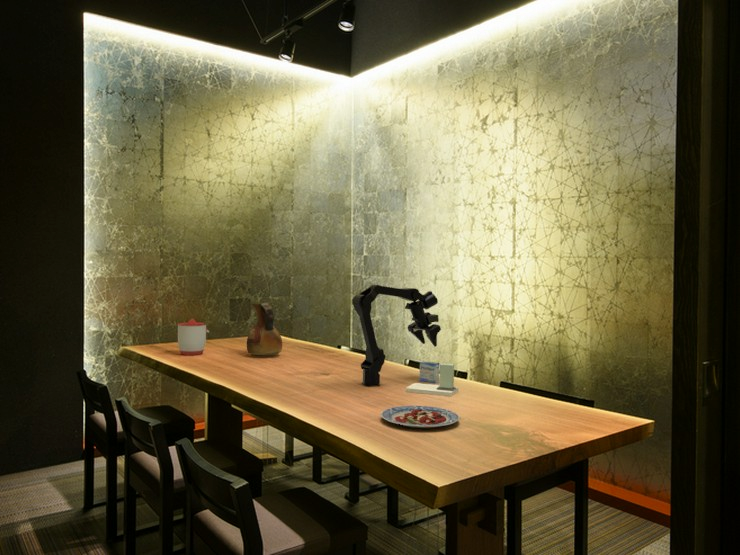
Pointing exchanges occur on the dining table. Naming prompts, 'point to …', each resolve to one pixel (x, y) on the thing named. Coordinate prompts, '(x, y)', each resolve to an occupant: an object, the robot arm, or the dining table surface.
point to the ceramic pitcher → (264, 333)
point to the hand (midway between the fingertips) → (429, 344)
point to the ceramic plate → (420, 416)
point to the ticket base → (431, 389)
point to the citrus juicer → (192, 337)
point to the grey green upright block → (446, 376)
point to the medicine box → (429, 372)
